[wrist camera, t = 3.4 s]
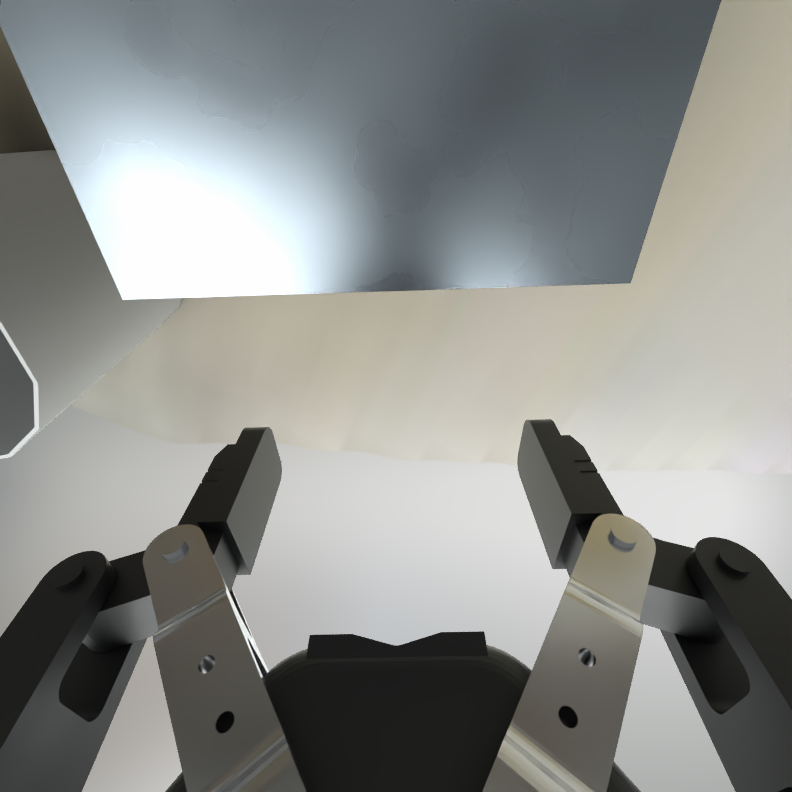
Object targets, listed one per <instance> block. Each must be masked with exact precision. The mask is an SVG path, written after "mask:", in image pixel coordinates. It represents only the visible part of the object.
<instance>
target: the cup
mask: <svg viewBox="0 0 792 792" xmlns="http://www.w3.org/2000/svg"><path fill="white" fill-rule="evenodd" d="M181 300H182V298H163V299H133V300H123V299H122V297H121V295H120V293H119V290H118V288H117V286H116V284H115V281H114V279H113V277H112V275H111V272H110V270H109V268H108V266H107V264H106V261H105V259H104V257H103V255H102V252H101V250H100V248H99V246H98V243H97V241H96V239H95V237H94V234H93V232H92V230H91V228H90V225H89V223H88V221H87V219H86V216H85V214H84V212H83V210H82V208H81V205H80V203H79V201H78V199H77V196H76V194H75V192H74V190H73V187H72V185H71V183H70V181H69V178H68V176H67V174H66V172H65V169H64V167H63V165H62V163H61V160H60V158H59V156H58V154H57V152H56V151H54V150H45V151H31V152H18V153H4V154H0V459H1V458H7V457H12V456H13V455H14V454H15V453H16V452H17V451H19V450H20V449H21V448H22V447H23V446H24V445H25V444H26V443H28V442H29V441H30V440H31V439H32V438H33V437H34V436H35V435H37V434H38V433H39V432H40V431H41V430H42V429H43V428H44V427H46V426H47V425H48V424H49V423H50V422H51V421H53V420H54V419H55V418H56V417H57V416H58V415H59V414H61V413H62V412H63V411H64V410H65V409H66V408H67V407H69V406H70V405H71V404H72V403H73V402H74V401H75V400H77V399H78V398H79V397H80V396H81V395H82V394H83V393H85V392H86V391H87V390H88V389H89V388H90V387H91V386H92V385H94V384H95V383H96V382H97V381H98V380H99V379H100V378H102V377H103V376H104V375H105V374H106V373H107V372H108V371H110V370H111V369H112V368H113V367H114V366H115V365H116V364H117V363H119V362H120V361H121V360H122V359H123V358H124V357H125V356H127V355H128V354H129V353H130V352H131V351H132V350H133V349H135V348H136V347H137V346H138V345H139V344H140V343H141V342H142V341H144V340H145V339H146V338H147V337H148V336H149V335H150V334H152V333H153V332H154V331H155V330H156V329H157V328H158V327H159V326H161V325H162V324H163V323H164V322H165V321H166V320H167V319H168V318H169V317H170V316H171V315H172V314H173V313H174V312H175V311H176V310H177V309H178V308H179V307H180V305H181Z"/></svg>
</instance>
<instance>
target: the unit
mask: <svg viewBox="0 0 792 792" xmlns="http://www.w3.org/2000/svg"><path fill="white" fill-rule="evenodd" d="M720 2H721V0H0V26H1V28H2V31H3V33H4V35H5V37H6V40H7V42H8V44H9V46H10V48H11V51H12V53H13V55H14V57H15V60H16V62H17V64H18V66H19V69H20V71H21V73H22V75H23V78H24V80H25V82H26V84H27V87H28V89H29V91H30V93H31V96H32V98H33V100H34V102H35V104H36V107H37V109H38V111H39V113H40V116H41V118H42V120H43V122H44V125H45V127H46V129H47V131H48V134H49V136H50V138H51V140H52V143H53V145H54V147H55V149H56V152H57V154H58V156H59V158H60V160H61V163H62V165H63V167H64V169H65V172H66V174H67V176H68V178H69V181H70V183H71V185H72V187H73V190H74V192H75V194H76V196H77V199H78V201H79V203H80V205H81V208H82V210H83V212H84V214H85V216H86V219H87V221H88V223H89V225H90V228H91V230H92V232H93V234H94V237H95V239H96V241H97V243H98V246H99V248H100V250H101V252H102V255H103V257H104V259H105V261H106V264H107V266H108V268H109V270H110V272H111V275H112V277H113V279H114V281H115V284H116V286H117V288H118V290H119V293H120V295H121V297H122V299H123V300H133V299H163V298H194V297H224V296H255V295H285V294H316V293H346V292H377V291H407V290H438V289H468V288H498V287H529V286H559V285H590V284H620V283H631V280H632V277H633V274H634V270H635V267H636V264H637V261H638V258H639V255H640V252H641V249H642V246H643V242H644V239H645V236H646V233H647V230H648V227H649V224H650V221H651V217H652V214H653V211H654V208H655V205H656V202H657V199H658V196H659V192H660V189H661V186H662V183H663V180H664V177H665V174H666V171H667V168H668V164H669V161H670V158H671V155H672V152H673V149H674V146H675V143H676V139H677V136H678V133H679V130H680V127H681V124H682V121H683V118H684V114H685V111H686V108H687V105H688V102H689V99H690V96H691V93H692V89H693V86H694V83H695V80H696V77H697V74H698V71H699V68H700V65H701V61H702V58H703V55H704V52H705V49H706V46H707V43H708V40H709V36H710V33H711V30H712V27H713V24H714V21H715V18H716V15H717V11H718V8H719V5H720Z"/></svg>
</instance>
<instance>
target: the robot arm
mask: <svg viewBox="0 0 792 792" xmlns="http://www.w3.org/2000/svg"><path fill="white" fill-rule="evenodd" d="M518 471H519V475H520V478H521V481H522V484H523V486H524V489H525V492H526V495H527V498H528V501H529V503H530V506H531V509H532V512H533V515H534V517H535V520H536V523H537V526H538V529H539V532H540V534H541V537H542V540H543V543H544V546H545V549H546V552H547V554H548V557H549V560H550V563H551V566H552V568H553V569H567V571H568V574H569V576H570V579H569V582H568V584H567V586H566V589H565V591H564V594H563V596H562V598H561V601H560V603H559V606H558V608H557V611H556V613H555V616H554V618H553V620H552V623H551V626H550V628H549V630H548V633H547V635H546V638H545V640H544V642H543V645H542V647H541V650H540V653H539V655H538V657H537V660H536V662H535V664H534V667H533V670H532V671H531V670H530V669H529V668H528V667H527V666H526V665H525V664H523V663H522V662H520V661H519V660H517V659H516V658H515V657H513V656H511V655H510V654H508V653H506V652H504V651H502V650H499V649H497V648H495V647H491V646H488V645H486V640H485V635H484V632H442V633H438V634H435V635H432V636H428V637H425V638H422V639H419V640H415V641H412V642H409V643H406V644H403V645H399V646H394V645H390V644H386V643H382V642H379V641H375V640H372V639H368V638H364V637H361V636H356V635H353V634H340V635H310V638H309V644H308V649H305V650H303V651H300V652H298V653H296V654H294V655H292V656H290V657H288V658H286V659H285V660H283V661H281V662H280V663H279V664H277V665H276V666H275V667H274V668H272V669H271V670H270V671H268V668H267V667H266V664H265V662H264V660H263V658H262V656H261V654H260V652H259V649H258V647H257V645H256V643H255V640H254V638H253V636H252V633H251V631H250V629H249V626H248V624H247V622H246V619H245V617H244V615H243V612H242V610H241V608H240V605H239V603H238V600H237V598H236V596H235V593H234V591H233V589H232V586H233V583H234V580H235V577H236V575H247V574H248V575H250V574H251V571H252V568H253V565H254V562H255V558H256V556H257V552H258V549H259V546H260V543H261V540H262V537H263V534H264V531H265V527H266V524H267V521H268V518H269V515H270V512H271V509H272V505H273V502H274V499H275V496H276V493H277V490H278V487H279V484H280V480H281V473H282V467H281V461H280V457H279V454H278V450H277V447H276V443H275V440H274V436H273V433H272V430H271V429H270V428H269V427H258V428H244V429H243V431H242V433H241V435H240V437H239V439H238V441H237V443H236V444H230V445H227V446H226V447H225V448H224V449H223V450H221V451H220V452H219V453H218V454H217V455H216V456H215V457H214V459H213V461H212V463H211V465H210V467H209V469H208V472H207V473H206V474H205V476H204V478H203V480H202V483H201V484H200V485H199V487H198V489H197V491H196V493H195V495H194V496H193V498H192V500H191V502H190V504H189V505H188V507H187V509H186V511H185V513H184V515H183V516H182V518H181V520H180V522H179V524H178V525H177V526H175V527H173V528H170V529H168V530H166V531H164V532H163V533H161V534H160V535H158V536H157V537H156V538H155V539H154V540H153V541H152V542H151V543H150V545H149V546H148V547H147V549H146V550H145V551H142V552H139V553H136V554H132V555H129V556H125V557H122V558H119V559H116V560H112V561H108V560H107V559H106V557H105V556H104V555H103V554H102V553H99V552H97V551H86V552H81V553H78V554H75V555H73V556H71V557H68V558H67V559H65V560H63V561H61V562H60V563H59V564H57V565H56V566H54V567H53V568H52V569H51V570H50V571H49V572H48V573H47V574H46V575H45V576H44V577H43V579H42V580H41V581H40V583H39V584H38V586H37V587H36V588H35V590H34V591H33V593H32V594H31V595H30V597H29V598H28V599H27V601H26V602H25V604H24V605H23V606H22V608H21V609H20V611H19V612H18V613H17V615H16V616H15V618H14V619H13V621H12V622H11V623H10V625H9V626H8V627H7V629H6V630H5V632H4V633H3V634H2V636H1V637H0V792H82V789H83V787H84V785H85V782H86V780H87V777H88V775H89V773H90V771H91V768H92V766H93V764H94V761H95V759H96V757H97V754H98V752H99V749H100V747H101V745H102V742H103V740H104V738H105V735H106V733H107V731H108V729H109V726H110V724H111V721H112V719H113V717H114V714H115V712H116V710H117V707H118V705H119V703H120V700H121V698H122V696H123V693H124V691H125V689H126V686H127V684H128V682H129V679H130V677H131V675H132V672H133V670H134V668H135V665H136V663H137V661H138V658H139V656H140V654H141V651H142V649H143V647H144V644H145V642H146V639H147V638H148V637H151V636H153V641H154V647H155V651H156V656H157V660H158V664H159V669H160V674H161V678H162V683H163V687H164V691H165V696H166V700H167V705H168V709H169V714H170V718H171V723H172V727H173V732H174V735H175V740H176V745H177V749H178V753H179V758H180V763H181V767H182V773H181V774H180V775H179V776H178V777H177V779H176V780H175V781H174V782H173V783H172V785H171V786H170V787H169V788H168V789H167V790H166V792H640V790H639V789H638V788H637V787H636V786H635V785H634V784H633V782H632V781H631V780H630V779H629V778H628V777H627V776H626V775H625V774H624V772H623V771H622V770H621V769H620V768H619V767H618V766H617V765H616V764H615V762H614V757H615V752H616V748H617V744H618V739H619V735H620V730H621V726H622V722H623V717H624V713H625V708H626V704H627V700H628V695H629V691H630V686H631V682H632V678H633V673H634V668H635V665H636V660H637V655H638V652H639V647H640V643H641V638H642V633H643V624H645V625H649V626H652V627H655V628H658V629H660V630H661V632H662V635H663V636H664V639H665V641H666V643H667V645H668V647H669V650H670V651H671V654H672V656H673V658H674V660H675V662H676V665H677V667H678V669H679V671H680V673H681V675H682V678H683V680H684V682H685V684H686V686H687V688H688V690H689V693H690V695H691V696H692V699H693V701H694V703H695V705H696V707H697V710H698V712H699V714H700V716H701V718H702V720H703V723H704V724H705V727H706V729H707V731H708V733H709V735H710V737H711V740H712V742H713V744H714V746H715V748H716V751H717V753H718V755H719V757H720V759H721V761H722V763H723V765H724V768H725V770H726V772H727V774H728V776H729V778H730V781H731V783H732V785H733V787H734V789H735V791H736V792H792V599H791V598H790V597H789V595H788V594H787V593H786V591H785V590H784V589H783V588H782V586H781V585H780V584H779V582H778V581H777V580H776V578H775V577H774V576H773V574H772V573H771V572H770V571H769V569H768V568H767V567H766V565H765V564H764V563H763V562H762V561H761V560H760V559H759V558H758V557H757V556H756V555H755V554H753V553H752V552H751V551H749V550H748V549H746V548H745V547H743V546H741V545H739V544H737V543H735V542H732V541H730V540H727V539H722V538H716V537H709V538H705V539H702V540H700V541H699V542H698V543H697V545H696V546H695V548H690V547H686V546H682V545H678V544H674V543H670V542H665V541H662V540H659V539H655V538H653V537H652V536H651V534H650V533H649V532H648V531H647V530H646V529H645V528H644V527H643V526H642V525H640V524H639V523H638V522H636V521H634V520H633V519H631V518H628V517H626V516H624V515H623V514H622V512H621V510H620V508H619V507H618V505H617V503H616V502H615V500H614V498H613V496H612V495H611V493H610V491H609V490H608V488H607V486H606V484H605V483H604V481H603V479H602V478H601V476H600V474H599V473H597V469H596V467H595V466H594V464H593V462H591V459H590V457H589V455H588V454H587V452H586V450H585V448H584V447H583V446H582V445H581V444H580V443H579V442H577V441H576V440H575V439H574V438H573V437H571V436H570V435H562V436H561V435H560V433H559V431H558V429H557V427H556V425H555V423H554V422H553V421H552V420H551V419H546V420H526V421H525V423H524V427H523V432H522V437H521V442H520V448H519V453H518Z"/></svg>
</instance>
